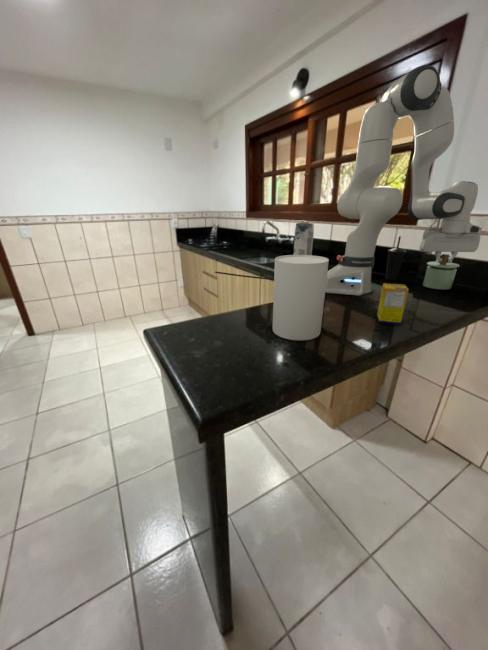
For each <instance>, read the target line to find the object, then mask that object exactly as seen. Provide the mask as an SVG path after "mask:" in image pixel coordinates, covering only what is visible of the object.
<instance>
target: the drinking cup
mask: <svg viewBox="0 0 488 650" xmlns="http://www.w3.org/2000/svg"><path fill="white" fill-rule="evenodd" d="M401 238H402V236H401V235H400V236H398V241H397V246H396V247H392V248H390V249H388V250H387V260H386V269H385V276H384V277H385V280H388V281H396V280H398V279H397V278H398V275H399V273H400V270H401V266H402V263H403V261H404V257H405V255H406V253H407V250H405V249H403V248H401V247H400V242H401Z"/></svg>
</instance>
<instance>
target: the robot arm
mask: <svg viewBox="0 0 488 650" xmlns="http://www.w3.org/2000/svg"><path fill="white" fill-rule="evenodd" d="M454 115H455V114H454V107H453V101H452V97H451V95H450V91H449V89H447V87H442V82H441V77H440V74H439V71H438V70H437V68H436V67H435V66H434V65H431V64H422V65H420V66H417V67H415V68H413V69H412V70H411V71H409V72H407V73H406V74H404V75H402V76H401V77H399V78H398V79H397V80H395V81H394V82H393V83H392V84H390V86H388V87H387V88H386V89H385V90H384V92H383V93H382V94H381V95H380V98H379V100H378V101H377V102H376V103H374V104H371V105H370V106H369V107H368V108H367V109H366V110H365V112H364V114H363V117H362V121H361V124H360V129H359V134H358V141H357V149H356V159H355V164H354V165H355V166H354V171H353V173H352V177H351V179H350V182H349V184H348V186H347V188H346V189H345V191H344V192H343V193H342V194H341V195H340V196H339V198H338V200H337V207H336V208H337V213H338V214H339V215H340V216H341V217H343V218H345V219H350V220H359V222H358V224H357V226H356V228H355V229H354V230H353V231H350V233H349V234H348V235H347V237H346V242H345V250H344V254H343V255H341V254H338V255H337V256H336V260H337V261H338V264H336V265H335V266H333V267H332V268H331V269H328V272H327V280H326V289H325V294H326V293H327V294H339V295H351V296H362V295H365V294H369V293H371V292H372V291H373V290H372V271H373V270H374V269H373V268H374V265H375V259H376V257H375V253H376V248H377V247H376V246H377V243H378V239H379V236H380V233H381V231H382V230H383V228H384V226H385V225H386V224H387V223H388V221H390V220H391V219H392V218H393V217H395V216H396V215H397V214H398V213H399V212H400V210H401V208H402V205H403V202H404V197H403V194H402V191H401V190H400V189H399V188H398V187H393V186H386V185H384V186H382V185H381V186H375V185H376V183H377V180H378V179H379V177H380V176H381V175H382V174H383V173H384V172H386V170H387V169H388V168H389V166H390V161H391V156H392V147H393V141H394V134H395V133H394V132H395V127H396V124H397V122H398V121H399V120H400V119H403V118H406V117H407V118H408V117H409V118H410V119H411V121H412V123H413V135H414V152H413V156H412V158H411V164H410V194H409V201H408V204H407V213H408V216H409V217H410V218H411V219H413V220H415V221H421V220H422V221H423V220H441V222H440V226H439V227H429V228H427V229H425V230H424V232H423V234H422V239H421V242H420V243H419V247H418V248H419V250H420V251H421V252H425V253H426V252H427V253H429V252H430V253H434V256H435V258H436V259H435V262H436V263H441V262H442V258H441V256H442V253H450V254H451V255H449V257H448V261H447V263H453V260H454V259H455V257H457V256H458V253H475V252H476V251H477V250H478V249H479V246H480V242H481V234H480V233H481V232H482V231H483V227H482V226H479V225H475V224H473V223H470V221H471V213H472V211H473V210H474V208H475V205H476V201H477V197H478V193H479V185H478V184H477V183H476V182H473V181H465V180H464V181H457V182H455V183H453V185H452V186H449V187H448V188H446V189H444V190H441V191H438V192H431V191H430V187H429V185H430V171H431V170H430V169H431V167H432V165H433V163H434V162H435V161H436V160H437V159H438V158H440V156H442V155H443V154H444V153H445V152H446V151H447V150H448V149H449V147H450V146H451V144H452V143H453V141H454V136H455V117H454ZM214 274H219V275H225V276H233V277H240V278H249V279H250V278H251V279H259V280H268V281H269V280H270V281H274V277H264V276H253V275H244V274H235V273H231V272H230V273H229V272H222V271H215V272H214Z"/></svg>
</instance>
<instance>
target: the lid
mask: <svg viewBox="0 0 488 650" xmlns="http://www.w3.org/2000/svg"><path fill="white" fill-rule="evenodd" d="M449 257H450V254H449V253H441V256H440V258H442V262H441V263H436V261H428V262H426V265H427V266H433V267H437V268H456V269H457V268H460V264H459V263H454V262H451V263H447V261H448V258H449Z"/></svg>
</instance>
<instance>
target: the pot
mask: <svg viewBox="0 0 488 650" xmlns="http://www.w3.org/2000/svg"><path fill="white" fill-rule="evenodd" d="M457 270H458V268H457V267H456V268H437V267H433V266H430V265H427V266H426V270H425V274H424V277H423V281H422V286H423V287H426V288H429V289H434V290H451V289H452V286H453V283H454V280H455V277H456V275H457V274H456V273H457Z"/></svg>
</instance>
